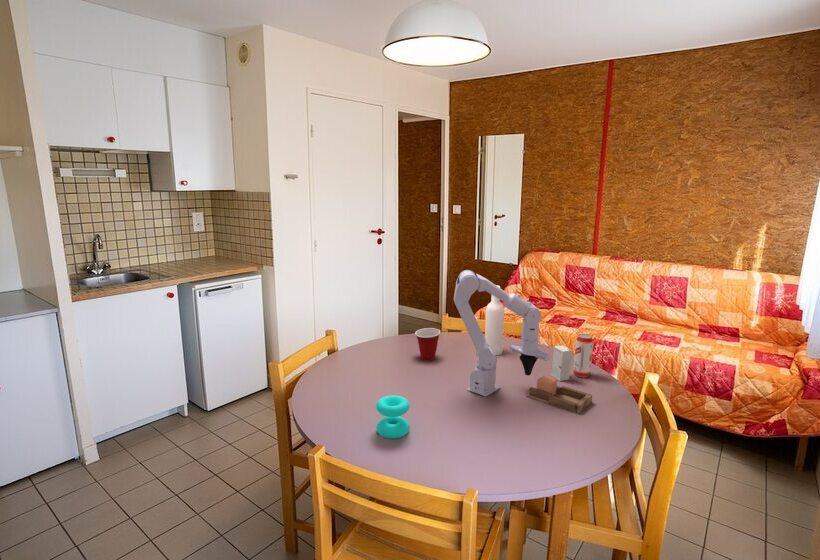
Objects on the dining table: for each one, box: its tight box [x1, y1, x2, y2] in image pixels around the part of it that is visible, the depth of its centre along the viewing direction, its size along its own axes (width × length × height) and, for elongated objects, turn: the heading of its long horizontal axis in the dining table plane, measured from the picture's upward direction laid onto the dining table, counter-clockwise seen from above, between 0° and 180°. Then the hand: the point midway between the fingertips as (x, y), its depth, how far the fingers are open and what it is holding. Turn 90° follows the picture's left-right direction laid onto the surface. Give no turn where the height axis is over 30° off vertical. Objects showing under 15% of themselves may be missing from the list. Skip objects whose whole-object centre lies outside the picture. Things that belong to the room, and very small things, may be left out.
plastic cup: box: [414, 327, 441, 361], centre depth 200 cm, size 11×11×12 cm
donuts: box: [375, 394, 410, 439], centre depth 142 cm, size 10×10×10 cm
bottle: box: [484, 284, 505, 356], centre depth 205 cm, size 8×8×30 cm
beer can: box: [573, 333, 594, 379], centre depth 183 cm, size 6×6×16 cm
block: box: [536, 375, 558, 396], centre depth 166 cm, size 5×5×6 cm
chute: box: [525, 385, 593, 415], centre depth 164 cm, size 11×19×3 cm, turn 48°
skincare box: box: [551, 344, 573, 382], centre depth 181 cm, size 6×4×12 cm
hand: (528, 374), depth 171 cm, fingers closed
